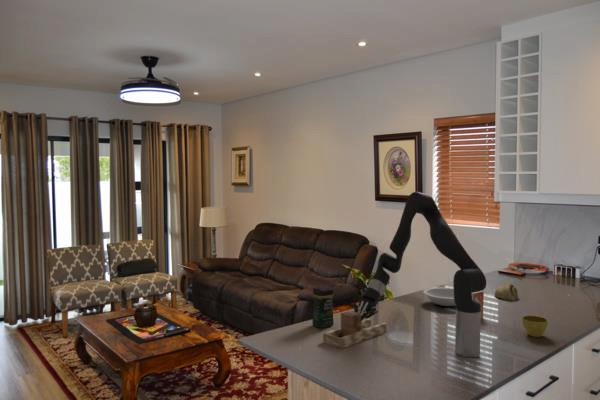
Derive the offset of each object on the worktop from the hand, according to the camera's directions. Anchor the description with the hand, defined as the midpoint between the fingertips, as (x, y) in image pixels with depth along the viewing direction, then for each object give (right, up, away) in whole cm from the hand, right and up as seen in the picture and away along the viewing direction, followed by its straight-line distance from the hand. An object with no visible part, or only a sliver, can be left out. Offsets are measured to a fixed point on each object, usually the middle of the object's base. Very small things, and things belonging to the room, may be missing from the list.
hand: (356, 324), depth 204 cm
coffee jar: (-14, -5, +16) cm, 21 cm away
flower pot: (+78, -5, +2) cm, 78 cm away
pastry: (+94, -2, +65) cm, 114 cm away
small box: (+61, -4, +28) cm, 67 cm away
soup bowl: (+55, -3, +51) cm, 74 cm away
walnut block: (-3, -4, -2) cm, 6 cm away
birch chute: (0, -5, 0) cm, 5 cm away
